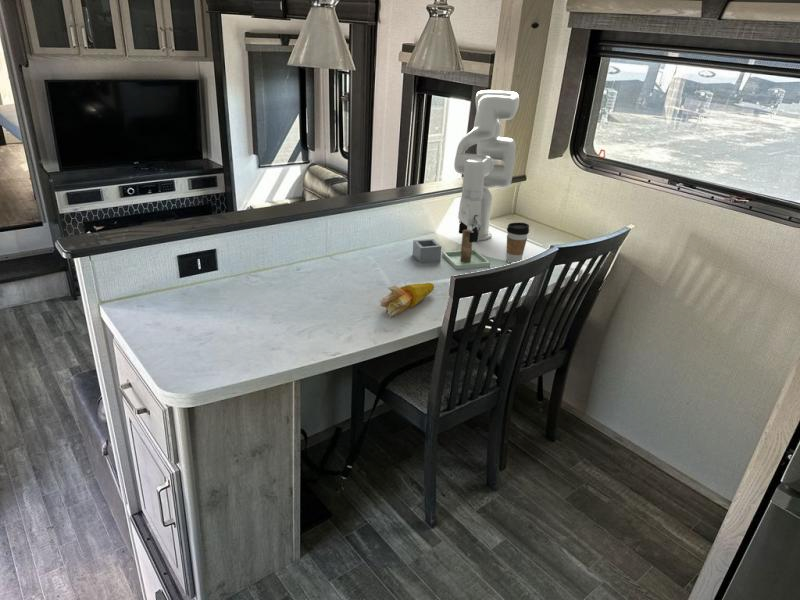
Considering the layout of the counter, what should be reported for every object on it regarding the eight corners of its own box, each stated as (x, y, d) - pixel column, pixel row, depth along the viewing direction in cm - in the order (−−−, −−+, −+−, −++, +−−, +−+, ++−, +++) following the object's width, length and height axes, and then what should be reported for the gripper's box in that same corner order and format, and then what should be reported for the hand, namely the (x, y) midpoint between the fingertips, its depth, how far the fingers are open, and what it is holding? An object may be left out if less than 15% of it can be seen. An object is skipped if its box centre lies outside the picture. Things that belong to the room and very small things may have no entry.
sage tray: (441, 257, 227) (442, 251, 226) (474, 255, 232) (474, 249, 230) (455, 271, 216) (456, 265, 214) (489, 268, 220) (490, 262, 219)
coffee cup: (526, 265, 224) (531, 228, 217) (504, 264, 224) (509, 227, 217) (522, 257, 232) (527, 221, 225) (501, 256, 232) (506, 220, 225)
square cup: (412, 257, 227) (413, 240, 224) (432, 255, 229) (433, 238, 226) (419, 265, 220) (420, 248, 217) (440, 263, 222) (441, 246, 219)
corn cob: (431, 305, 198) (385, 322, 179) (417, 289, 201) (370, 304, 182) (444, 289, 193) (398, 304, 174) (429, 272, 196) (382, 286, 177)
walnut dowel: (458, 259, 224) (461, 229, 219) (468, 258, 225) (470, 229, 220) (462, 262, 221) (465, 233, 216) (472, 262, 222) (475, 232, 217)
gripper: (453, 187, 218) (449, 230, 225) (472, 200, 203) (468, 246, 210) (471, 186, 220) (467, 229, 227) (491, 199, 205) (486, 244, 213)
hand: (467, 237), depth 219 cm, fingers open, 9 cm apart
